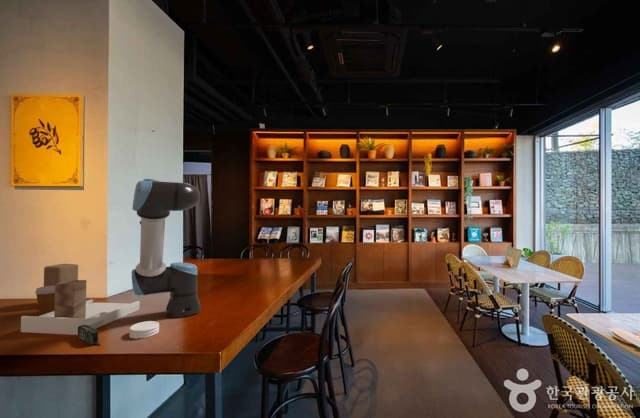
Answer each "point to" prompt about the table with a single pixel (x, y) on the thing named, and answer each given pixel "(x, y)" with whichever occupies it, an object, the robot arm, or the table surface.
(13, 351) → the table surface
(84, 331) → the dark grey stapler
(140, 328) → the coaster
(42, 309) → the disposable coffee cup
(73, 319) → the board
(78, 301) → the walnut block
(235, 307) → the table surface
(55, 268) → the wooden block
